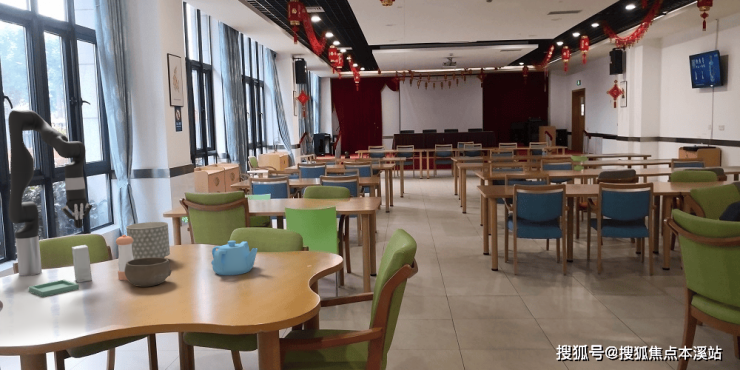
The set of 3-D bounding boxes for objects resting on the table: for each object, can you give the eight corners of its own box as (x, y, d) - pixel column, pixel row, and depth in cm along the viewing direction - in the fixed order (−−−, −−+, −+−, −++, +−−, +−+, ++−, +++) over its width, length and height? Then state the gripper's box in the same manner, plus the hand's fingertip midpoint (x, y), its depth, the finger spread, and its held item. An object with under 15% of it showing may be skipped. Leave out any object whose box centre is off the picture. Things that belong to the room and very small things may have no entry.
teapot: (214, 278, 260) (212, 246, 259) (209, 269, 278) (207, 239, 277) (259, 273, 267) (257, 242, 265) (251, 264, 285) (250, 235, 283)
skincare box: (92, 280, 264) (89, 246, 262) (77, 283, 261) (74, 248, 259) (89, 277, 271) (86, 244, 269) (74, 279, 268) (71, 245, 266)
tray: (29, 291, 249) (28, 286, 249) (64, 283, 260) (63, 279, 260) (42, 297, 240) (42, 292, 240) (78, 288, 251) (78, 284, 250)
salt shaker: (140, 276, 268) (136, 233, 266) (127, 280, 262) (123, 236, 260) (127, 275, 271) (124, 232, 269) (114, 279, 265) (111, 235, 263)
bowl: (179, 279, 260) (177, 256, 259) (151, 291, 243) (150, 266, 242) (146, 277, 266) (144, 255, 265) (116, 288, 249) (114, 264, 248)
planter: (155, 255, 311) (152, 220, 309) (178, 259, 300) (175, 223, 298) (121, 263, 296) (118, 226, 294) (144, 267, 285) (141, 229, 283)
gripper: (86, 186, 269) (90, 224, 271) (55, 189, 259) (59, 229, 261) (94, 186, 264) (97, 226, 266) (63, 190, 254) (66, 231, 256)
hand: (78, 227), depth 263 cm, fingers closed
